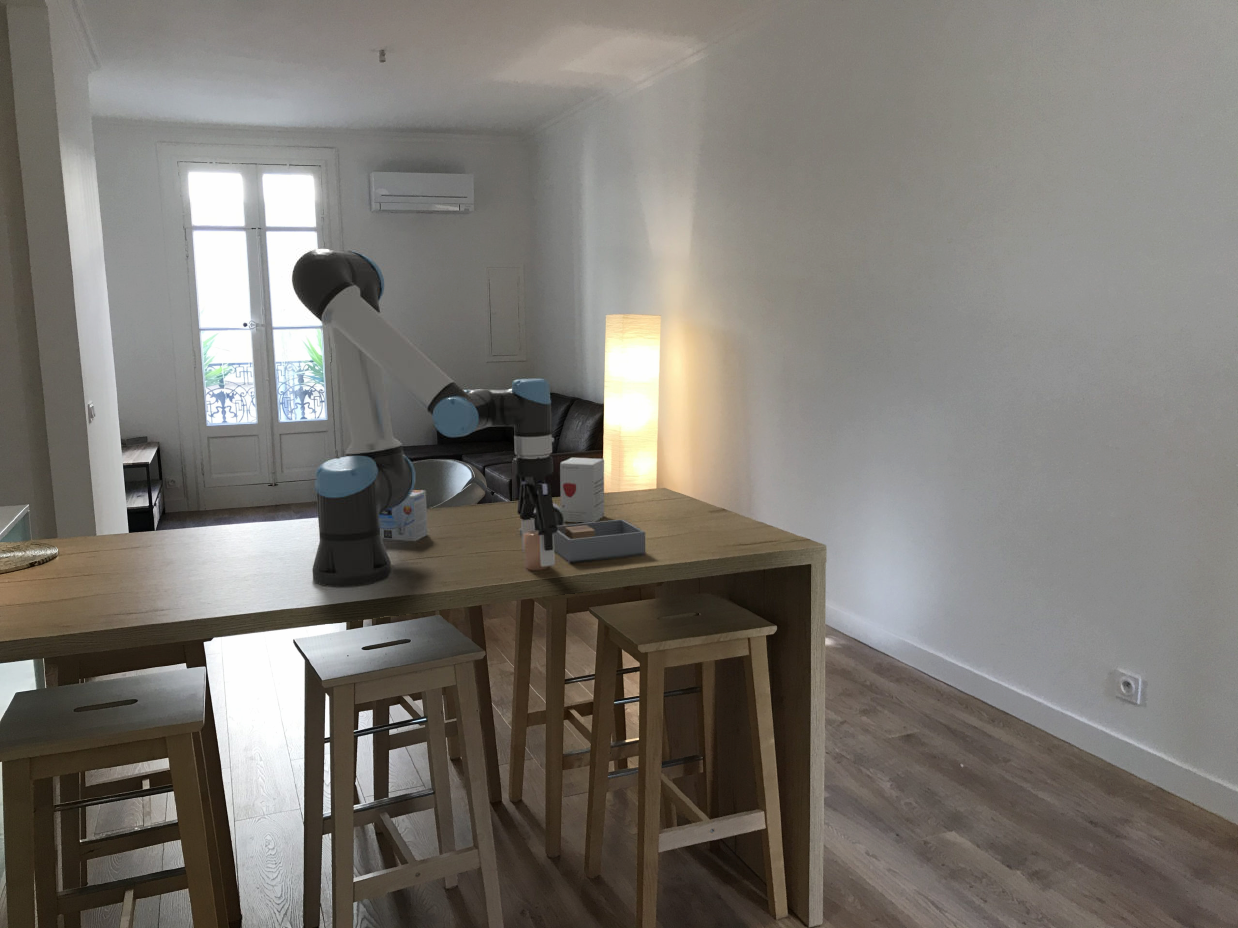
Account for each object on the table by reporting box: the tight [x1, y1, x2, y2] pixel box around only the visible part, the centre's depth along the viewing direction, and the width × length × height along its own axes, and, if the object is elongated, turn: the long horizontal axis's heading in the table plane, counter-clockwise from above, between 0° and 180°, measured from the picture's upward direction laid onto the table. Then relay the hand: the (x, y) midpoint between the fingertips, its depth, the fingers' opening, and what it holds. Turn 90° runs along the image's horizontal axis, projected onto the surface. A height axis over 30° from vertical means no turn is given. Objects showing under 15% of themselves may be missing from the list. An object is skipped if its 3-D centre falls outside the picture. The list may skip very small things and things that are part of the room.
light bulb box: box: [379, 489, 429, 542], centre depth 217 cm, size 11×7×11 cm, turn 76°
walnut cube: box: [565, 525, 595, 539], centre depth 201 cm, size 5×5×5 cm
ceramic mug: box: [518, 502, 566, 536], centre depth 219 cm, size 11×8×8 cm
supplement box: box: [559, 457, 605, 523], centre depth 233 cm, size 9×9×15 cm
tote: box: [554, 519, 646, 564], centre depth 203 cm, size 17×13×5 cm
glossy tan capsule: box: [523, 531, 550, 571], centre depth 192 cm, size 5×5×7 cm
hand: (538, 557), depth 192 cm, fingers open, 13 cm apart
